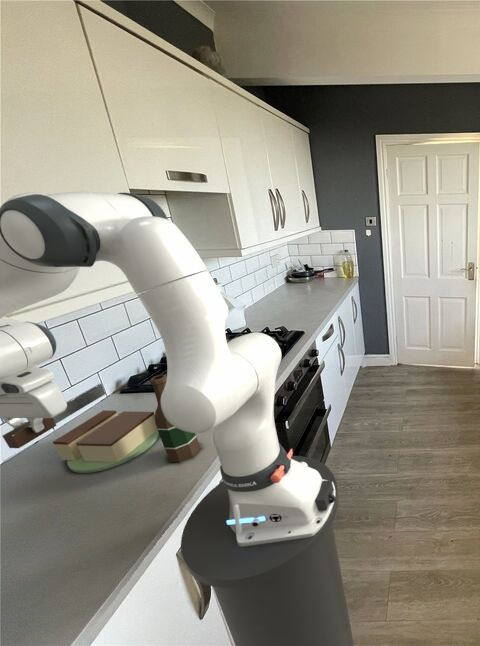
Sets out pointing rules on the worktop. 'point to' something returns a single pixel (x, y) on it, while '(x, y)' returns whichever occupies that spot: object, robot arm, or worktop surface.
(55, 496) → the worktop surface
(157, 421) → the beer bottle
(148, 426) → the cake
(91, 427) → the cake slice
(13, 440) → the knife
